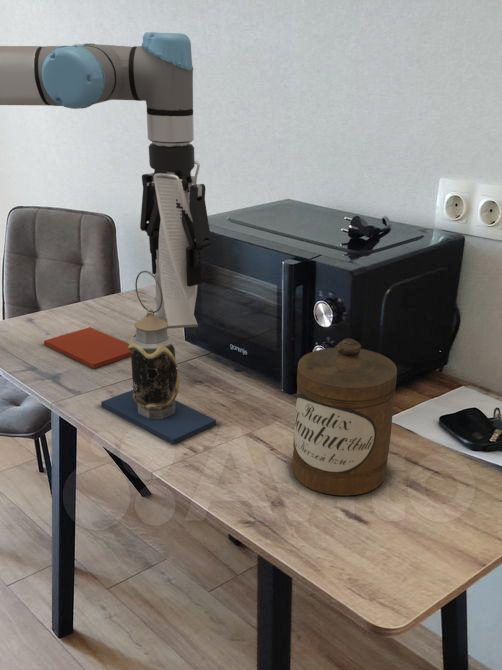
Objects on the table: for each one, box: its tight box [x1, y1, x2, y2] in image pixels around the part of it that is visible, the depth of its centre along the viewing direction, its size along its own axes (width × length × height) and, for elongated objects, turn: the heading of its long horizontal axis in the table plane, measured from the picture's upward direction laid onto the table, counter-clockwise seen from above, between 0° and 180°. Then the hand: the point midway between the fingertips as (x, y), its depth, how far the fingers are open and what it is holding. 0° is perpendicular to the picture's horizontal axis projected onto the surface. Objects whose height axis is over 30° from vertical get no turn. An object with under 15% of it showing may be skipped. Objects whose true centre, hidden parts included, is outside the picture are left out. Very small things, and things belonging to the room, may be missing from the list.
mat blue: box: [100, 389, 217, 445], centre depth 126 cm, size 20×10×1 cm, turn 47°
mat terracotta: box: [43, 326, 132, 369], centre depth 152 cm, size 18×12×1 cm, turn 48°
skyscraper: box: [153, 160, 201, 330], centre depth 125 cm, size 8×8×28 cm
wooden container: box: [292, 338, 398, 496], centre depth 106 cm, size 15×15×22 cm
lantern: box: [128, 270, 180, 419], centre depth 119 cm, size 9×8×25 cm
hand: (176, 278), depth 128 cm, fingers closed on skyscraper, 9 cm apart
